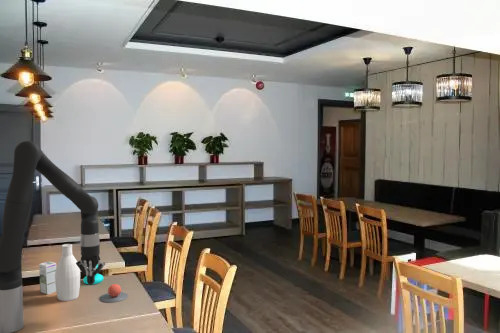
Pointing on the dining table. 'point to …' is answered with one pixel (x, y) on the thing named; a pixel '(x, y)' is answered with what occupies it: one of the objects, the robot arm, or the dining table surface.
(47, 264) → the syrup box
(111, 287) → the ball
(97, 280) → the donuts
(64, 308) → the dining table surface
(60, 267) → the bottle
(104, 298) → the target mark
